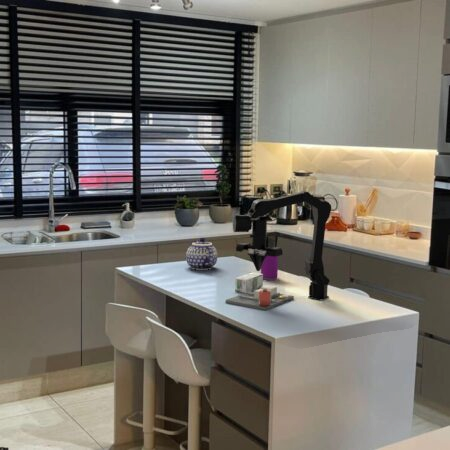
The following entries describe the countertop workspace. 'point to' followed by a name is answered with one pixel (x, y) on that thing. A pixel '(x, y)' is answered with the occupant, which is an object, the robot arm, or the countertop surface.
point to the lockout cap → (264, 297)
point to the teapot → (201, 255)
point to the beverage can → (270, 268)
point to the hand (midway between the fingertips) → (258, 270)
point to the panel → (251, 302)
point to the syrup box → (248, 282)
